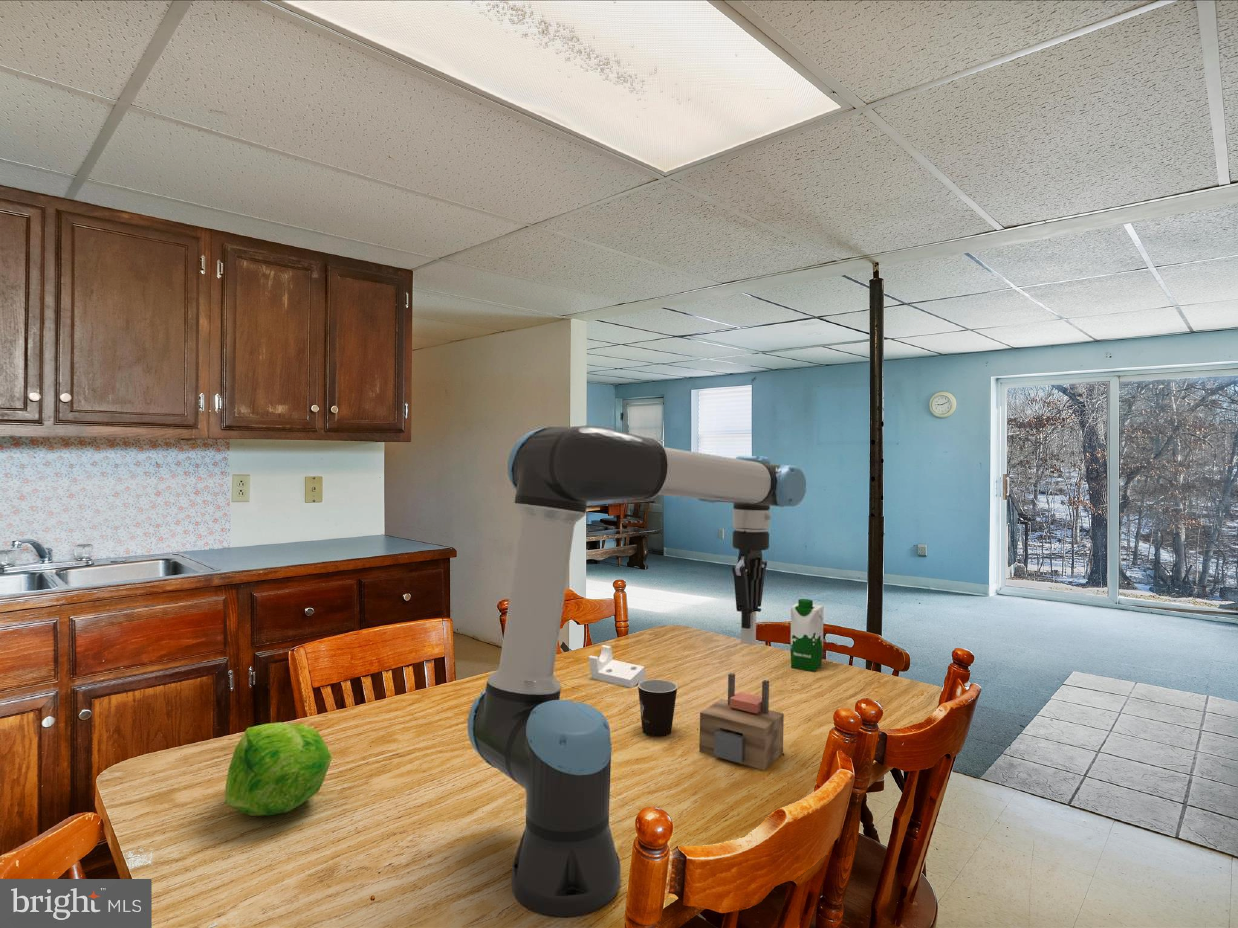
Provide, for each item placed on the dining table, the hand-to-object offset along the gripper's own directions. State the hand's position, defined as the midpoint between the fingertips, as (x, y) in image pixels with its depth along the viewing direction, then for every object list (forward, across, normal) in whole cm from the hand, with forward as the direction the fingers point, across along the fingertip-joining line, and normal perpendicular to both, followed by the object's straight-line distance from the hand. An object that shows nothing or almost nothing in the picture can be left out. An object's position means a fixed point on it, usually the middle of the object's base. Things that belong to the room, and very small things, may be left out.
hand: (748, 642), depth 138 cm
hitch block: (+22, -2, 0) cm, 22 cm away
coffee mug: (+22, -2, +20) cm, 30 cm away
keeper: (+13, 0, 0) cm, 13 cm away
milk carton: (+21, +64, +9) cm, 68 cm away
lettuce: (+23, -69, +54) cm, 91 cm away
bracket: (+22, +19, +46) cm, 54 cm away
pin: (+21, -1, 0) cm, 21 cm away
